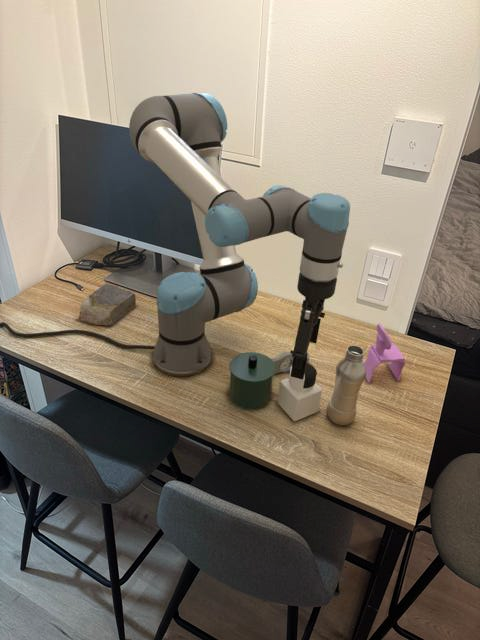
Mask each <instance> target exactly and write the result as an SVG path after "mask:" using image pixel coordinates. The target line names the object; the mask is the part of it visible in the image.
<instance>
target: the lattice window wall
mask: <svg viewBox="0 0 480 640" xmlns="http://www.w3.org/2000/svg"><path fill="white" fill-rule="evenodd" d="M290 351H291V350H283V351H282V352H280V353H279V354H278V355H275V356H272V357H271V356H270V357H269V358H270V359H271V360H272V361H273V362H274V364H275V373H274V375H276V374H279V373H287V372H290V368H291V366H292V363H293V357H292V354H291V353H290ZM311 357H312V356H311V354H310V353H308V356H307V362H306V363H308V364H310V363H309V362H310V358H311Z"/></svg>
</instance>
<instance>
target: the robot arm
mask: <svg viewBox="0 0 480 640" xmlns="http://www.w3.org/2000/svg"><path fill="white" fill-rule="evenodd" d="M128 127H129V128H128V129H129V136H130V137H129V138H130V140H131V143H132V145H133V147H134V148H135V150H136V151H137V153H138V154H139V155H140V156H141V157H142V158H143V159H144V160H146V161H147V162H150V163H154V164H155V165H156V166H157V167H158V168H159V169H160V170H161V171H162V172H163V173H164V174H165V175H166V176H167V177H168V178H169V179H170V181H172V183H173V184H174V185H175V186H177V188H178V189H179V190H180V191H181V192H182V193H183V194H184V195H185V196H186V197H187V198H188V200H190V203H191V208H192V212H193V217H194V222H195V226H196V232H197V234H198V235H197V236H198V240H199V245H200V249H201V254H202V259H203V260H202V262H201V264H200V265H199V267H198V268H199V272H200V274H199V273H198V272H194V271H187V272H186V271H179V272H175V273H172V274H169V275H168V276H166V277H165V278H164V279H162V281H161V282H160V283H159V285H158V287H157V292H156V307H157V321H158V323H157V324H158V336H157V339H156V342H155V345H143V344H124V343H120V342H118V341H116V340H114V339H112V338H111V337H109V336H106V335H103V334H100V333H98V332H97V333H96V332H94V331H90V330H85V329H84V330H83V329H67V330H66V329H65V330H57V331H44V332H43V331H42V332H35V333H21V332H17V331H15V330H13V329H12V327H11V326H9V324H8V323H6V322H4V321H3V322H0V327H4V328H5V329H6V330H7V331H8V332H9V334H12V335H13V336H16V337H19V338H36V337H46V336H47V337H49V336H59V335H66V334H81V335H88V336H91V337H96V338H99V339H101V340H104V341H107V342H108V343H110V344H113V345H115V346H117V347H119V348H122V349H127V350H128V349H129V350H135V349H136V350H151V351H152V350H153V353H152V361H153V365H154V366H155V368H156V369H157V370H158V371H160V372H161V373H163V374H165V375H168V376H171V377H177V378H178V377H180V378H181V377H182V378H183V377H191V376H195V375H198V374H200V373H202V372H204V371H205V370H206V369H207V368H208V367H209V366H210V364H211V362H212V349H211V345H210V344H209V341H208V338H207V336H206V332H205V331H206V330H205V329H206V323H209V322H212V321H215V320H217V319H220V318H223V317H226V316H229V315H231V314H234V313H239V312H241V311H243V310H245V309H247V308H249V307H251V306H252V305H253V304H254V302H255V301H256V299H257V297H258V292H259V284H258V277H257V276H256V272H255V271H254V268H252V266H251V265H249V264H247V263H245V260H244V258H243V257H242V256H240V255H239V254H238V253H237V250H236V246H239V245H242V244H244V243H248V242H251V241H252V242H253V241H254V240H259V239H262V238H265V237H270V236H273V235H277V234H281V233H285V232H289V233H290V234H292V235H294V236H296V237H297V238H300V239H302V240H303V245H302V252H301V257H300V262H299V273H298V279H297V291H298V293H299V294H300V295H302V296H303V297H304V299H303V301H302V304H301V308H302V309H301V311H300V317H299V324H298V327H297V328H298V329H297V332H296V337H295V342H294V347H293V350H289V351H290V353H291V354H292V357H293V363H292V370H291V377H294V378H298V379H302V380H303V378H304V373H305V368H306V362H307V356H308V354H309V353H308V350H309V346H310V343H311V344H317V341H318V336H319V331H320V326H321V320H322V319H325V315H326V312H323V311H324V309H325V307H324V306H325V301H326V300H328V299H331V298H332V297H333V296H334V294H335V293H336V286H337V283H338V275H339V271H340V269H342V268H343V267H344V263H343V262H341V260H342V257H343V256H342V255H343V249H344V245H345V240H346V235H347V232H348V228H349V225H350V215H351V214H350V213H351V212H350V211H351V203H350V202H349V200H348V199H346V198H345V197H344V196H342V195H340V194H334V193H330V192H321V193H316V194H314V195H312V196H311V197H309V196H307V195H305V194H303V193H301V192H299V191H297V190H295V189H294V188H291V187H288V186H285V185H281V184H277V185H272V186H271V187H270V188H269V189H268V190H266V191H265V192H264V193H263V195H262V196H260V197H259V196H257V197H253V198H248V199H246V198H244V197H243V196H242V195H241V194H240V193H238V192H237V190H235V189H234V188H233V187H232V186H231V185H230V184H229V182H227V181H226V180H225V179H224V178H223V177H222V174H221V167H220V164H219V160H218V157H219V155H220V153H221V151H222V149H223V147H222V143H223V141H224V140H225V139H226V137H227V135H228V134H227V133H228V132H227V131H228V119H227V115H226V112H225V109H224V107H223V106H222V103H221V102H220V101H219V100H218V99H217V98H215V96H213V95H212V94H209V93H199V92H192V93H190V92H189V93H180V94H170V95H168V94H167V95H153V96H150V97H148V98H145V99H143V100H142V101H141V102H140V103H138V104H137V106H135V108H134V110H133V111H132V113H131V116H130V119H129V125H128ZM321 318H322V319H321Z"/></svg>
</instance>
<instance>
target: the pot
mask: <svg viewBox="0 0 480 640" xmlns="http://www.w3.org/2000/svg"><path fill="white" fill-rule="evenodd" d="M229 373H230V374H229V399H230V400H231V401H232V403H233V404H235V406H238V407H239V408H242V409H246V410H256V409H261V408H263V407H265V406H266V405H267V404H268V403H269V402H270V400H271V397H272V390H273V381H274V375H273V376H272V377H271V378H270V379H268V380H266V381H264V382H259V383H249V382H244V381H241V380H239V379H237V378H236V377H234V376H233V375H232V373H231V372H229Z"/></svg>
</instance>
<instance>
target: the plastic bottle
mask: <svg viewBox="0 0 480 640" xmlns="http://www.w3.org/2000/svg"><path fill="white" fill-rule="evenodd" d="M364 355H365V350H364V349H363V348H362V347H361V346H359V345H354V344H352V345H348V346H347V347H346V350H345V354H344V357H343V358H341V359H340V360H339V361H338V362H337V364H336V365H335V366H336V367H335V381H334V387H333V392H332V394H331V397H330V399H329V401H328V404H327V406H326V415H327V417H328V418H329V420H330V421H331V422H332V423H333V424H336V425H338V426H339V425H340V426H347V425H349V424H352V422H353V421H354V419H355V418H356V416H357V403H358V397H359V393H360V390H361V387H362V385H363V383H364V382H365V379H366V377H365V376H366V367H365V365H364V363H365V362H363V361H364Z"/></svg>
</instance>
